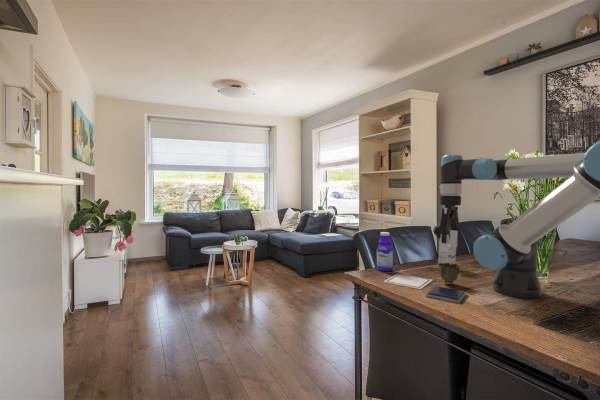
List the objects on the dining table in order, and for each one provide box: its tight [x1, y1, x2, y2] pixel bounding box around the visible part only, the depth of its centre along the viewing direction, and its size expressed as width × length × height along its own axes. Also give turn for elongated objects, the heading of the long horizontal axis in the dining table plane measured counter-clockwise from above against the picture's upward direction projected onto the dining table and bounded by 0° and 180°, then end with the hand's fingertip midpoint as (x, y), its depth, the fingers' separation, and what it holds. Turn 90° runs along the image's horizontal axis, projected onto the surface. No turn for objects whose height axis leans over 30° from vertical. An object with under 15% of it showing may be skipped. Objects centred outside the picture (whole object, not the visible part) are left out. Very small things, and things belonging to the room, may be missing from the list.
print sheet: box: [382, 273, 434, 290], centre depth 135 cm, size 15×15×1 cm
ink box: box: [437, 237, 457, 271], centre depth 155 cm, size 8×5×15 cm, turn 134°
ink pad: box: [425, 285, 468, 305], centre depth 118 cm, size 11×11×1 cm
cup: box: [439, 262, 460, 286], centre depth 131 cm, size 8×7×8 cm
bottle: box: [376, 231, 394, 272], centre depth 153 cm, size 7×6×17 cm
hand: (449, 248), depth 131 cm, fingers open, 13 cm apart
